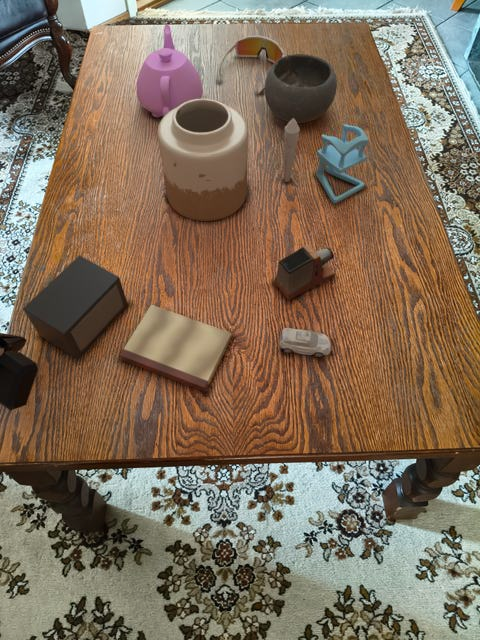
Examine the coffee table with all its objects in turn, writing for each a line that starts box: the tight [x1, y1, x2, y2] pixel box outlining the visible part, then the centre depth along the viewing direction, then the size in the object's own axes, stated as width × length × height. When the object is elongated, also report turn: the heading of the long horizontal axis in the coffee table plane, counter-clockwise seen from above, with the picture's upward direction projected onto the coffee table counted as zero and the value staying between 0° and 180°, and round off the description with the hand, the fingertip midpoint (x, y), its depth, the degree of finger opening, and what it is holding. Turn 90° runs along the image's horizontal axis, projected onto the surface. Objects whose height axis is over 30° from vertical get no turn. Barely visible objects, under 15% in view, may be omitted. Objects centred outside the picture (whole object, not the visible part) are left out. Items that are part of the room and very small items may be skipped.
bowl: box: [264, 53, 338, 124], centre depth 106 cm, size 15×15×10 cm
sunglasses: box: [218, 34, 286, 95], centre depth 118 cm, size 14×15×5 cm
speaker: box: [22, 254, 129, 361], centre depth 78 cm, size 12×8×8 cm
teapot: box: [136, 24, 204, 118], centre depth 107 cm, size 20×14×12 cm
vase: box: [157, 98, 249, 222], centre depth 90 cm, size 15×15×17 cm
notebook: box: [118, 304, 233, 393], centre depth 77 cm, size 14×10×2 cm
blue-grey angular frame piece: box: [315, 123, 370, 204], centre depth 93 cm, size 8×8×12 cm
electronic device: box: [274, 243, 336, 301], centre depth 82 cm, size 4×10×8 cm, turn 121°
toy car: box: [279, 327, 332, 358], centre depth 77 cm, size 4×8×3 cm, turn 82°
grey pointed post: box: [283, 118, 301, 183], centre depth 93 cm, size 2×3×14 cm
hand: (23, 341), depth 70 cm, fingers closed
